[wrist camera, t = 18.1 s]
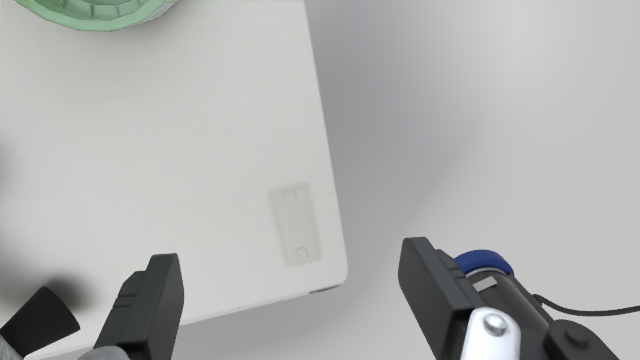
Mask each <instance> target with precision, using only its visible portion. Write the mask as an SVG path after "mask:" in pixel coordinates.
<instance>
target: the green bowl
mask: <svg viewBox="0 0 640 360" xmlns="http://www.w3.org/2000/svg"><path fill="white" fill-rule="evenodd" d="M14 1H16V2H17V3H19V4H20V5H22V6H24V7H25V8H27V9H29V10H30V11H32V12H33V13H35V14H37V15H38V16H40V17H42V18H43V19H45V20H47V21H51V22H54V23H57V24H60V25H63V26H66V27H70V28H73V29H76V30H81V31H116V30H120V29H124V28H128V27H131V26H135V25H138V24H141V23H144V22H147V21H150V20H153V19H156V18H158V17H160V16H161V15H162V14H163V13H164V12H166V11H167V10H168V9H169V8H171V7H172V6H173V5H174V4H175V3H177V1H178V0H14Z"/></svg>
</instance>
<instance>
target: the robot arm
mask: <svg viewBox="0 0 640 360" xmlns="http://www.w3.org/2000/svg"><path fill="white" fill-rule="evenodd" d="M398 279H399V284H400V287H401V289H402V291H403V293H404V295H405V298H406V300H407V302H408V303H409V306H410V308H411V310H412V312H413V314H414V315H415V318H416V320H417V322H418V324H419V326H420V328H421V330H422V332H423V334H424V336H425V337H426V340H427V342H428V344H429V346H430V348H431V350H432V352H433V354H434V356H435V358H436V360H619V359H618V358H617V356H616V355H615V354H613V352H612V351H611V350H610V349H609V348H608V347H607V346H606V345H605V344H604V343H603V341H602V340H601V339H600V338H599V337H598V336H597V335H596V334H595V333H593V332H592V331H591V330H589V329H588V328H586V327H585V326H583V325H581V324H578V323H576V322H573V321H569V320H562V319H561V320H560V319H559V320H555V321H554V320H553V319H552V317H550V315H549V314H548V313H547V312H546V311H545V310H544V309H543V308H542V307H541V306H542V303H544V304H546V305H548V306H550V307H551V308H553V309H555V310H558V311H561V312H563V313H567V314H571V315H577V316H612V315H620V314H626V313H631V312H637V311H640V306H634V307H629V308H623V309H617V310H609V311H577V310H571V309H567V308H563V307H560V306H558V305H556V304H554V303H553V302H551V301H549V300H547V299H545V298H544V297H542V296H540V295H537V294H533V295H531V294H530V293H529V292H528V291H527V290H526V289H525V288H524V287H523V286H522V285H521V284H520V283H519V282H518V281H517V279H516V278H515V277H514V276H513V275H512V274H511V273H510V272H503V271H502V270H501V269H500V268H498V267H495V266H489V265H486V266H479V267H475V268H473V269H470V270H468V271H466V272H465V273H463V271H462V270H460V267H459V266H458V265H457V263H456V262H455V261H454V259H453V258H452V257H450V256H449V255H447V254H446V253H445V252H443V251H442V250H440V249H437V250H435V249H434V248H433V246H432V245H431V243H430V242H429V240H428V239H427V238H426V237H412V238H405V239H404V240H403V243H402V249H401V256H400V262H399V268H398ZM183 305H184V287H183V281H182V275H181V270H180V264H179V259H178V255H177V254H176V253H172V254H157V255H152V257H151V259H150V261H149V264H148V266H147V269H146V271H135V272H134V273H133V274H132V275H131V276H130V277H129V278H128V279H127V280H126V281H125V282H124V283H123V285H122V287H121V289H120V292H119V294H118V298H116V300H115V302H114V305H113V309H111V311H110V313H109V315H108V317H107V320H106V322H105V324H104V326H103V328H102V330H101V333H100V335H99V337H98V339H97V341H96V343H95V345H94V348H93V350H91V351H89V352H87V353H86V354H84V355H82V356H81V357H80V358H78V359H77V360H171V356H172V352H173V348H174V343H175V339H176V335H177V330H178V327H179V322H180V318H181V314H182V310H183Z"/></svg>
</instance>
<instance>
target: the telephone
mask: <svg viewBox="0 0 640 360" xmlns="http://www.w3.org/2000/svg"><path fill="white" fill-rule="evenodd" d="M78 330H80V326H79V324H78V322H77V320H76V319H75V317H74V316H73V314H72V313H71V312H70V310H69V309H68V308H67V307H66V305H65V304H64V303H63V302H62V301H61V300H60V299H59V298H58V297H57V296H56V295H55V294H54V293H53V292H52V291H51V290H50V289H48V288H47V287H45V286H42V287H41V288H40V289H39V290H38V291H37V292H36V293H35V294H34V295H33V296H32V297H31V298H30V299H29V300H28V301H27V302H26V303H25V304H24V305H23V307H22V308H21V309H20V310H19V311H18V312H17V313H16V314H15V315H14V316H13V317H12V318H11V319H10V320H9V321H8V322H7V323H6V324H5V325H4V326H3V327H2V328H1V329H0V360H23V359H24V357H25V356H26V355H28V354H30V353H32V352H34V351H36V350H39V349H41V348H43V347H45V346H47V345H49V344H51V343H53V342H56V341H58V340H60V339H62V338H64V337H66V336H68V335H70V334H73V333H75V332H77V331H78Z"/></svg>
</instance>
